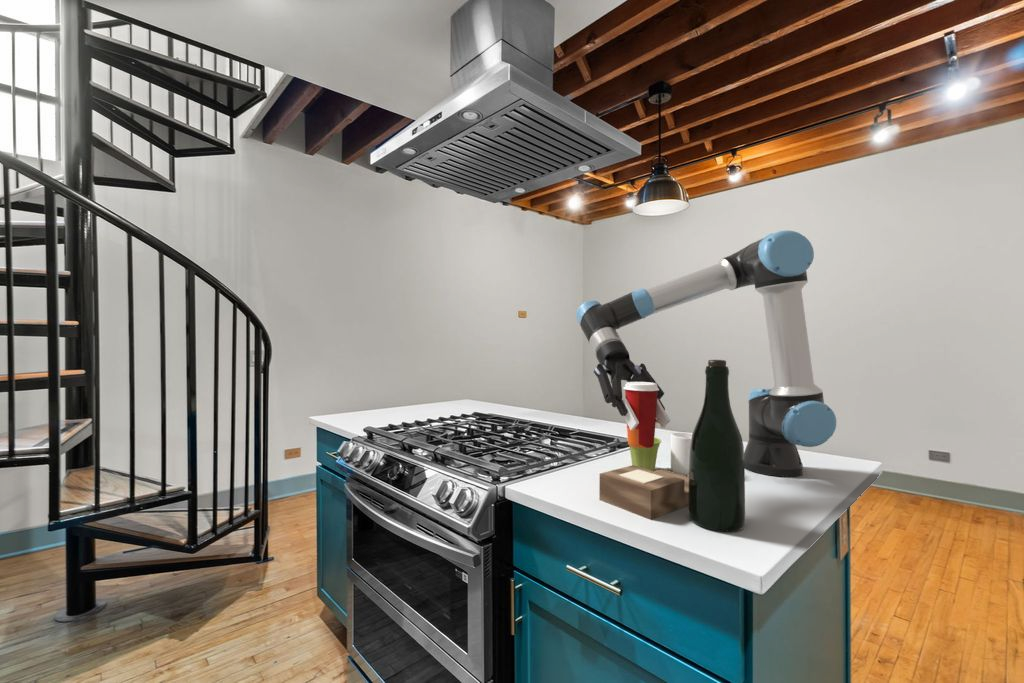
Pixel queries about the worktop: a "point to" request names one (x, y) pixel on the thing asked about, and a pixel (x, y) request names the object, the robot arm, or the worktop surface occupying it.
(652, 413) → the paper cup
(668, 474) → the step riser
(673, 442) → the mug
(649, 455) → the plant pot
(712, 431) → the dark green wine bottle
